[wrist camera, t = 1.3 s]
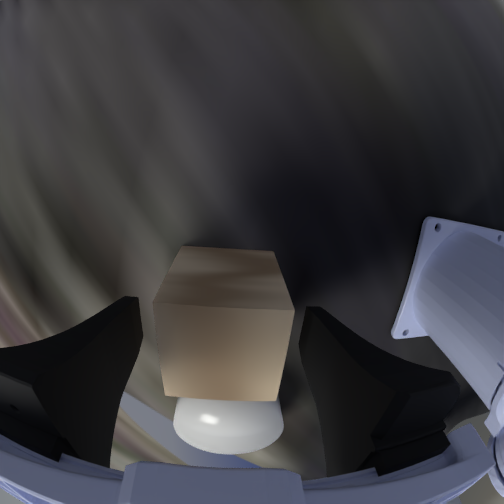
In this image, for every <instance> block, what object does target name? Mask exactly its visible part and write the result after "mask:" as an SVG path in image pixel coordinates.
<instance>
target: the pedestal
mask: <svg viewBox="0 0 504 504" xmlns="http://www.w3.org/2000/svg"><path fill="white" fill-rule="evenodd" d="M173 424H174V429H175V431H176V433H177V434H178V435H179V436H180V438H181V439H183V440H184V441H185V442H187V443H188V444H190V445H192V446H194V447H196V448H198V449H201V450H204V451H208V452H213V453H219V454H242V453H248V452H253V451H256V450H259V449H262V448H264V447H266V446H268V445H270V444H272V443H273V442H274V441H276V440H277V439H278V438H279V436H280V435H281V433H282V431H283V427H284V425H283V418H282V412H281V407H280V401H279V395H277V399H276V401H226V400H208V399H195V398H184V397H178V399H177V405H176V410H175V416H174V422H173Z"/></svg>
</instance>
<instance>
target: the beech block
mask: <svg viewBox="0 0 504 504" xmlns="http://www.w3.org/2000/svg"><path fill="white" fill-rule="evenodd" d="M153 310H154V320H155V329H156V337H157V345H158V353H159V360H160V366H161V373H162V379H163V385H164V390H165V395H166V396H175V397H184V398H195V399H208V400H226V401H276V399H277V395H278V391H279V386H280V382H281V377H282V372H283V368H284V363H285V358H286V353H287V348H288V343H289V338H290V333H291V328H292V323H293V317H294V312H295V309H294V306H293V304H292V301H291V298H290V295H289V292H288V290H287V287H286V284H285V281H284V279H283V276H282V273H281V270H280V268H279V265H278V262H277V259H276V257H275V254H274V251H262V250H245V249H228V248H211V247H194V246H181V248H180V250H179V252H178V253H177V255H176V257H175V259H174V261H173V263H172V265H171V267H170V269H169V271H168V273H167V275H166V277H165V278H164V280H163V282H162V284H161V286H160V288H159V290H158V292H157V294H156V296H155V299H154V301H153Z"/></svg>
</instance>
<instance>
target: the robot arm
mask: <svg viewBox="0 0 504 504" xmlns="http://www.w3.org/2000/svg"><path fill="white" fill-rule="evenodd" d="M436 224H437V228H436V229H435V226H436ZM391 335H392V336H393V338H395V339H402V338H412V337H420V336H428V335H429V336H430V337H431V339H432V340H433V341H434V342H435V343H436V344H437V345H438V347H439V348H440V349H441V350H442V351H443V352H444V354H445V355H446V356H447V357H448V358H449V360H450V361H451V362H452V363H453V364H454V366H455V367H456V368H457V369H458V370H459V372H460V373H461V374H462V375H463V377H464V378H465V379H466V380H467V382H468V383H469V384H470V385H471V387H472V388H473V389H474V390H475V392H476V393H477V394H478V396H479V397H480V398H481V400H482V401H483V402H484V404H485V405H486V406H487V408H488V409H489V410H491V412H490V414H489V416H488V417H487V419H486V420H485V422H484V423H485V425H486V426H487V428H488V429H489V431H490V432H491V436H490V438H489V441H488V444H487V447H486V446H485V444H484V442H483V441H482V439H481V438H480V436H479V434H478V433H477V431H476V430H475V429H474V427H473V426H472V424H471V423H469V424H467V425H464V426H463V427H460V428H458V429H456V430H454V431H452V432H450V433H449V434H448V435H447V436H446V435H445V433H444V432H443V430H444V429H445V428H446V424H445V423H444V421H443V419H444V418H445V417H446V415H447V414H448V413H449V411H450V410H451V408H452V407H453V406H454V404H455V403H456V401H457V399H458V397H459V394H460V391H461V386H460V385H459V383H458V382H457V381H456V379H455V378H454V377H453V375H452V374H451V373H450V372H448V371H443V370H438V369H433V368H429V367H425V366H421V365H418V364H415V363H412V362H409V361H406V360H404V359H401V358H399V357H397V356H394V355H392V354H390V353H388V352H386V351H384V350H382V349H380V348H378V347H376V346H374V345H373V344H371V343H369V342H368V341H366V340H365V339H363V338H362V337H360V336H359V335H357V334H356V333H354V332H353V331H352V330H350V329H349V328H347V327H346V326H345V325H344V324H342V323H341V322H340V321H338V320H337V319H336V318H335V317H333V316H332V315H331V314H329V313H328V312H327V311H326V310H324V309H323V308H321V307H307V306H306V311H305V316H304V321H303V326H302V331H301V335H300V340H299V349H300V355H301V360H302V364H303V367H304V370H305V373H306V376H307V379H308V382H309V385H310V388H311V391H312V394H313V397H314V400H315V403H316V407H317V410H318V415H319V420H320V425H321V431H322V437H323V444H324V451H325V459H326V470H327V478H321V479H314V480H307V481H301V477H300V475H299V474H297V473H294V472H291V471H289V470H286V469H278V468H214V467H213V468H212V467H198V466H187V465H178V464H170V463H163V462H149V461H140V462H136V463H133V464H130V465H127V466H126V467H125V472H123V471H119V470H115V469H111V468H110V456H111V448H112V440H113V434H114V428H115V423H116V418H117V413H118V409H119V405H120V401H121V397H122V394H123V392H124V389H125V386H126V384H127V381H128V379H129V377H130V374H131V372H132V369H133V367H134V364H135V362H136V359H137V357H138V354H139V351H140V347H141V343H142V339H143V331H142V323H141V316H140V308H139V299H138V297H130V296H125V297H123V298H121V299H119V300H117V301H116V302H114V303H113V304H111V305H110V306H108V307H106V308H105V309H103V310H102V311H100V312H99V313H97V314H95V315H94V316H92V317H90V318H89V319H87V320H85V321H83V322H82V323H80V324H78V325H76V326H74V327H72V328H70V329H68V330H66V331H64V332H62V333H59V334H57V335H54V336H51V337H48V338H46V339H43V340H40V341H36V342H33V343H29V344H24V345H19V346H14V347H6V348H0V488H2V489H3V490H4V491H6V492H8V493H9V494H11V495H12V496H14V497H15V498H17V499H19V500H20V501H22V502H24V503H25V504H445V503H447V502H448V501H450V500H452V499H454V498H455V497H457V496H459V495H460V494H461V493H463V492H464V491H465V490H467V489H468V488H469V487H470V486H472V485H473V484H474V483H476V482H477V481H478V480H479V479H480V478H481V477H483V476H484V475H485V474H486V473H487V472H488V474H489V477H490V480H491V482H492V484H493V486H494V487H495V489H496V490H497V491H498V492H499V494H500V495H501V496H503V497H504V232H503V231H499V230H495V229H490V228H486V227H481V226H477V225H472V224H467V223H462V222H457V221H452V220H447V219H442V218H436V217H431V216H430V217H427V218H425V220H424V221H423V224H422V229H421V233H420V238H419V242H418V246H417V250H416V254H415V258H414V262H413V266H412V269H411V273H410V276H409V280H408V283H407V286H406V290H405V293H404V296H403V299H402V302H401V305H400V308H399V311H398V314H397V317H396V320H395V322H394V325H393V328H392V331H391Z"/></svg>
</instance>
